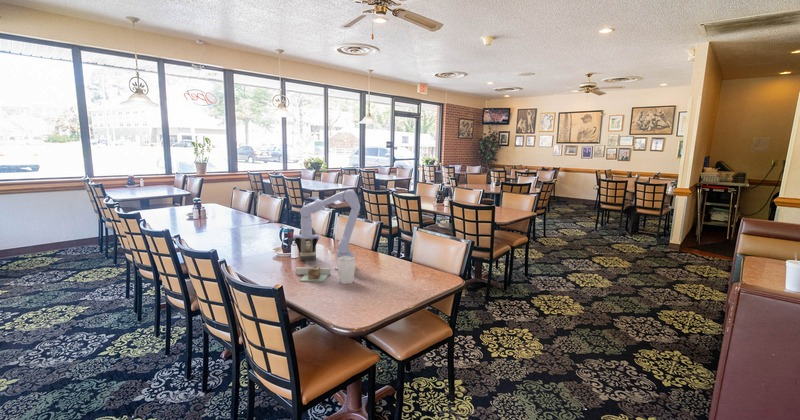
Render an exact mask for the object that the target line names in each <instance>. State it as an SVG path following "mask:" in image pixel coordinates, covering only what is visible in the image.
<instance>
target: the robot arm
mask: <svg viewBox="0 0 800 420" xmlns="http://www.w3.org/2000/svg"><path fill="white" fill-rule="evenodd" d="M338 201H340V202H343V201H345V202H346V203H347V204H348V205H349V208H351V209H350V212H349V215H348V218H347V221H346V224H345V227H344V231H343V234H342V236H341V238H340V240H339V241H338V243H337V248H336V249H337V251H336V263H337V262H338V258H339V257H344V256H350V257H354V258H355V252H352V251H350V241H351V237H352V235H353V231H354V229H355V225H356V222H357V220H358V216H359V213H360V210H361V204H360V201H359V197H358V194H357V192H355V190H353V189H352V188H350V189H349V188H348V189H346V190H342V191H340V192H337V193H335V194H334V195H331V196H329V197H327V198H325V199H315V200H314V201H313V202H310V203H307V204H306V205H304V206H302V207H301V208H300V211H299V214H300V230H301V235H299V234H293V235H292V239H293V240H294V242H295V244H296V246H297V249H298V252H299V253H300V251H301V239H313V240H312V243H313V252H315V247H316V248H317V243H318V242H319V240H320V239H321V235H320V234H319V235H318V234H316V235H312V228H313V227H312V225H313V224H312V221H313V219H312V214H316V213H318V212H320V211H322V210H324V209H325V206H328V205H330V204H333V203H335V202H338ZM335 270H338V266H337V265H336V267H335Z"/></svg>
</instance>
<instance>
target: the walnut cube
mask: <svg viewBox="0 0 800 420" xmlns="http://www.w3.org/2000/svg"><path fill="white" fill-rule="evenodd" d="M308 268H309V269H308V279H319V277H320V268H321V266H314V265H313V266H309V267H308Z"/></svg>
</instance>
